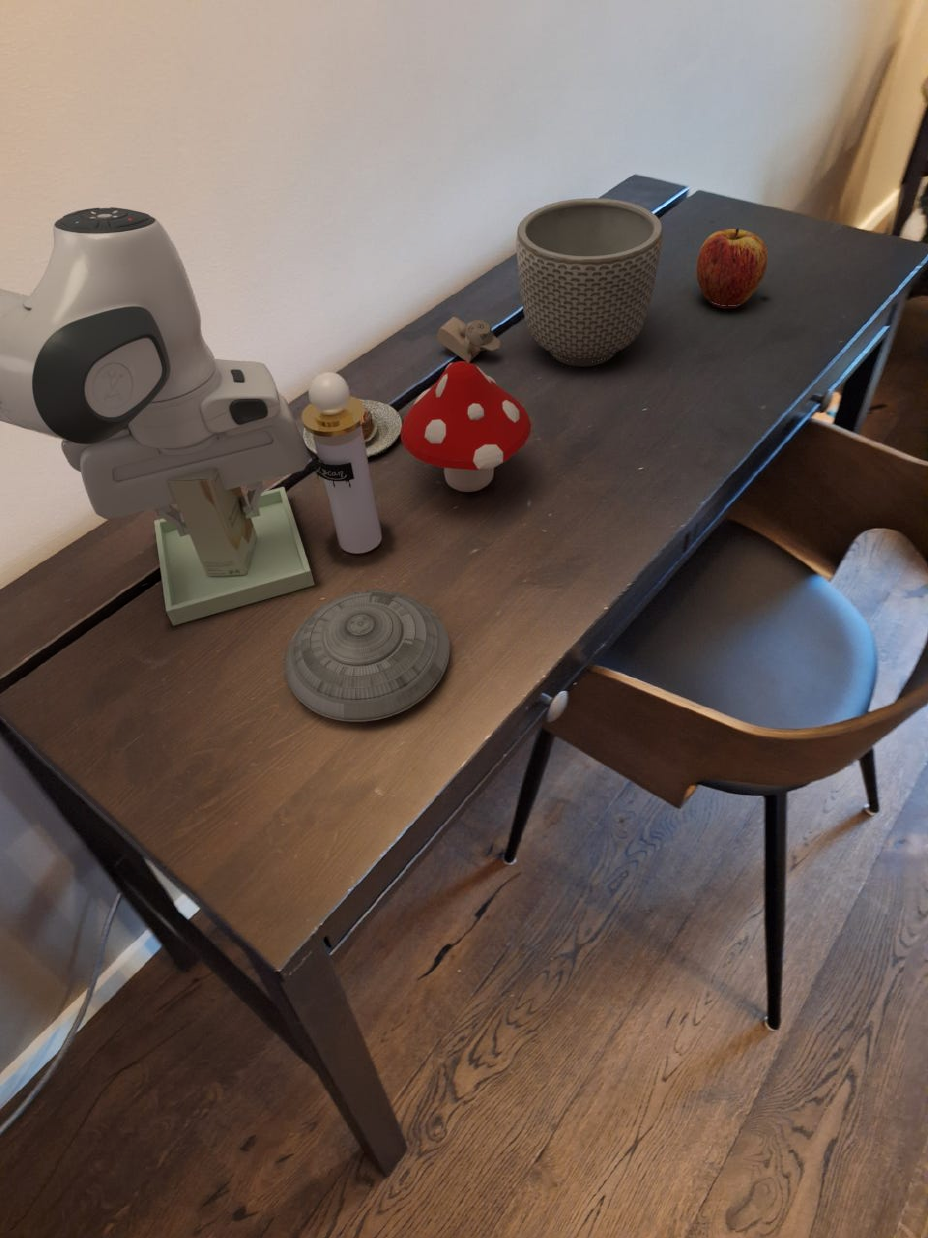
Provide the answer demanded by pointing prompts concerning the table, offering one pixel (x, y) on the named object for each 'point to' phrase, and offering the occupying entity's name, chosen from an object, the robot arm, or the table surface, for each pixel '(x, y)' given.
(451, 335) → the toy character
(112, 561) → the table surface
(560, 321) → the planter
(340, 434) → the perfume bottle
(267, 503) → the tray
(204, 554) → the cosmetic box
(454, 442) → the decorative mushroom
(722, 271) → the apple
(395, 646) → the flying saucer
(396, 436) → the grey speckled shallow bowl
